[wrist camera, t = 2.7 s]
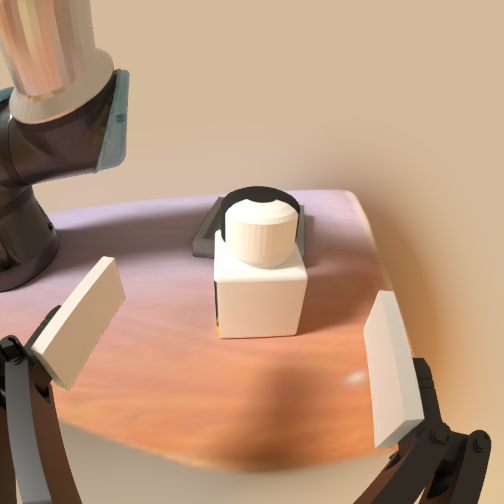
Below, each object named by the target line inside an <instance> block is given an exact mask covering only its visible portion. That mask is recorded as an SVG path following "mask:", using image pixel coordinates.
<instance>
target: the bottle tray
mask: <svg viewBox="0 0 504 504" xmlns="http://www.w3.org/2000/svg"><path fill="white" fill-rule="evenodd" d="M224 198H225V197H218V199H217V201H216V202H215V204H214V206H213V207H212V209H211V211H210V212H209V214H208V216H207V217H206V219H205V221H204V222H203V224H202V226H201V228H200V229H199V231H198V233H197V234H196V236H195V238H194V240H193V241H192V247H193V256H198V257H205V258H213V259H215V233H216V231H218V230H221V202H222V200H223V199H224ZM296 244H297V247H298V249H299V252H300V255H301V257H302V260H303V259H304V206H302V205H300V218H299V225H298V232H297V239H296Z"/></svg>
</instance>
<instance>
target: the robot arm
mask: <svg viewBox="0 0 504 504" xmlns="http://www.w3.org/2000/svg"><path fill="white" fill-rule="evenodd" d="M0 48H1V51H2V54H3V57H4V59H5V62H6V65H7V67H8V70H9V72H10V75H11V77H12V80H13V82H14V85H15V87H9V88H5V89H2V90H0V291H5V290H8V289H11V288H14V287H17V286H19V285H21V284H23V283H25V282H26V281H28V280H30V279H31V278H33V277H34V276H36V275H37V274H38V273H39V272H41V271H42V270H43V269H44V268H45V267H46V266H47V265H48V264H49V263H50V262H51V260H52V259H53V258H54V256H55V254H56V253H57V250H58V247H59V240H58V237H57V234H56V230H55V228H54V226H53V224H52V223H51V221H50V220H49V218H48V217H47V215H46V214H45V212H44V211H43V209H42V208H41V206H40V205H39V203H38V201H37V200H36V198H35V196H34V193H33V189H32V185H33V184H37V183H41V182H46V181H51V180H55V179H61V178H66V177H71V176H77V175H83V174H89V173H97V172H98V171H100V170H104V169H109V168H113V167H116V166H118V165H120V164H121V163H122V162H123V160H124V158H125V156H126V132H127V106H128V90H129V72H128V71H127V70H121V69H117V70H115V71H114V67H113V62H112V58H111V56H110V55H109V54H108V53H107V52H105V51H103V50H101V49H99V48H96V47H95V42H94V34H93V26H92V18H91V9H90V0H0ZM125 298H126V297H125V294H124V291H123V287H122V284H121V280H120V277H119V273H118V269H117V265H116V262H115V258H112V257H105V256H103V257H102V258H101V259H100V260H99V261H98V263H97V264H96V265H95V266H94V267H93V268H92V270H91V271H90V272H89V273H88V274H87V275H86V277H85V278H84V279H83V280H82V281H81V283H80V284H79V285H78V286H77V287H76V289H75V290H74V291H73V292H72V294H71V295H70V296H69V297H68V299H67V300H66V301H65V302H64V304H63V305H62V306H60V305H58V306H57V307H55V308H54V309H52V310H51V311H50V312H49V313H48V315H47V316H46V317H45V320H43V321H42V323H41V324H40V326H39V327H38V328H37V329H36V331H35V332H34V333H33V335H32V336H31V337H30V339H29V340H28V342H27V343H26V344H25V346H24V347H23V346H22V344H21V343H20V341H19V340H18V338H17V337H16V336H14V335H8V336H6V337H4V338H3V339H2V340H1V341H0V504H17V498H16V478H17V482H18V487H19V491H20V495H21V498H22V502H23V504H82V502H81V499H80V496H79V494H78V491H77V488H76V485H75V482H74V479H73V476H72V473H71V470H70V466H69V463H68V460H67V456H66V452H65V449H64V445H63V441H62V437H61V432H60V428H59V423H58V419H57V414H56V408H55V403H54V397H53V391H52V386H51V384H50V382H51V380H52V379H53V380H54V382H55V383H56V384H57V385H58V386H59V387H62V388H64V389H66V390H68V391H70V389H71V387H72V385H73V384H74V382H75V380H76V378H77V377H78V375H79V373H80V371H81V369H82V368H83V366H84V364H85V363H86V361H87V359H88V357H89V356H90V354H91V352H92V351H93V349H94V347H95V346H96V344H97V342H98V341H99V339H100V337H101V336H102V334H103V332H104V331H105V329H106V328H107V326H108V324H109V323H110V321H111V320H112V318H113V316H114V315H115V313H116V312H117V310H118V309H119V307H120V306H121V304H122V302H123V301H124V299H125ZM363 332H364V338H365V345H366V353H367V360H368V369H369V377H370V387H371V397H372V408H373V421H374V438H375V448H390V447H393V446H394V445H396V444H397V443H398V446H399V450H398V451H396V452H395V453H394V454H392V455H391V456H390V457H389V459H391V460H390V461H389V462H388V464H387V465H386V466H385V468H384V469H383V470H382V471H381V473H380V474H379V475H378V476H377V477H376V479H375V480H374V481H373V482H372V483H371V484H370V486H369V487H368V488H367V489H366V490H365V491H364V492H363V494H362V495H361V496H360V497H359V498H358V499H357V500H356V501H355V502H354V503H353V504H414V502H415V501H416V500H417V498H418V497H419V495H420V494H421V492H422V491H423V489H424V488H425V489H424V492H423V494H422V497H421V499H420V501H419V504H477V503H478V500H479V497H480V493H481V490H482V486H483V482H484V479H485V474H486V470H487V465H488V460H489V456H490V451H491V439H490V436H489V435H488V434H487V433H486V432H485V431H483V430H476V431H474V432H472V433H471V434H470V435H466V434H461V433H457V432H453V431H451V430H450V427H449V426H448V425H446V423H443V421H442V419H441V415H440V410H439V405H438V400H437V395H436V391H435V389H434V382H433V380H432V374H431V370H430V367H429V366H428V364H427V363H426V361H425V360H424V358H412V355H411V351H410V347H409V343H408V340H407V336H406V332H405V328H404V325H403V321H402V318H401V314H400V311H399V308H398V304H397V301H396V298H395V294H394V292H393V291H382V290H379V292H378V294H377V297H376V300H375V302H374V305H373V307H372V310H371V313H370V315H369V317H368V320H367V322H366V325H365V327H364V330H363ZM15 474H16V478H15ZM425 486H426V487H425Z"/></svg>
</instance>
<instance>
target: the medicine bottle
mask: <svg viewBox="0 0 504 504" xmlns="http://www.w3.org/2000/svg"><path fill="white" fill-rule="evenodd" d="M299 218H300V205H299V204H298V202H297V201H296V199H295V198H294V197H292V196H291V195H289V194H287V193H285V192H283V191H281V190H278V189H275V188H270V187H263V186H253V187H246V188H242V189H238V190H235V191H233V192H230V193H229V194H228V195H227V196H226V197H225V198H224V199H223V200H222V202H221V230H218V231H216V233H215V261H214V287H215V305H216V322H217V335H218V337H219V338H250V337H271V336H288V335H295V334H296V332H297V328H298V324H299V319H300V315H301V310H302V305H303V301H304V296H305V291H306V286H307V281H308V274H307V271H306V268H305V266H304V263H303V260H302V257H301V255H300V252H299V249H298V247H297V244H296V239H297V232H298V225H299Z"/></svg>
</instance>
